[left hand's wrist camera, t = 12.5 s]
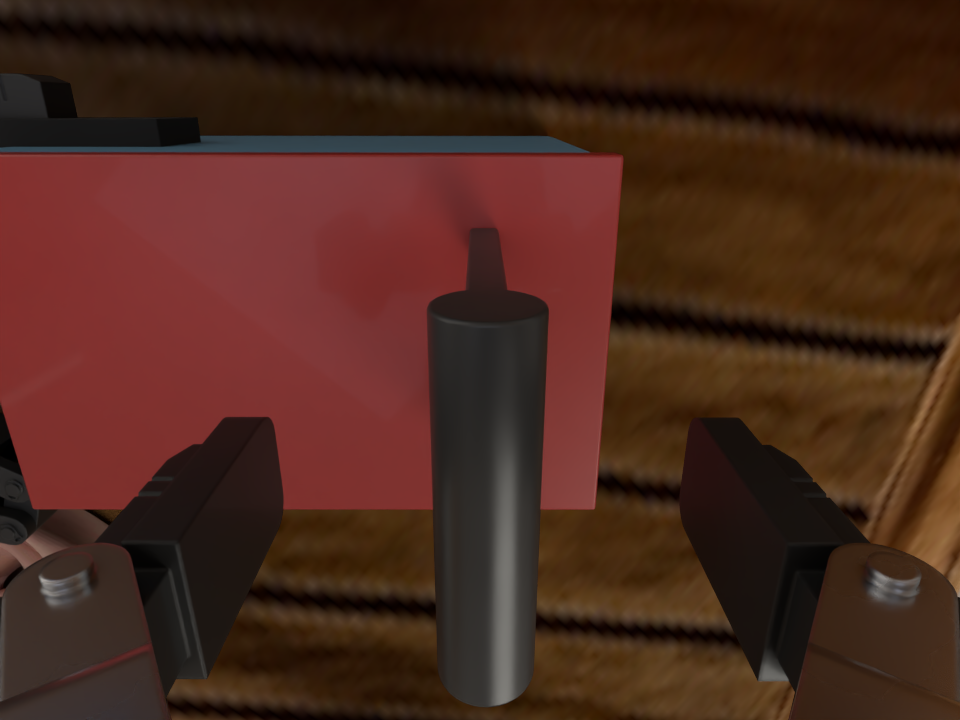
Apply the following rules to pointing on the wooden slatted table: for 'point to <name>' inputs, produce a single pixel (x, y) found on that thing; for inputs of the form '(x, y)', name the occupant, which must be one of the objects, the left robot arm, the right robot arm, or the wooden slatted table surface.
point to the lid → (326, 344)
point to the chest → (342, 144)
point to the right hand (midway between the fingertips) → (208, 304)
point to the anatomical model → (49, 541)
